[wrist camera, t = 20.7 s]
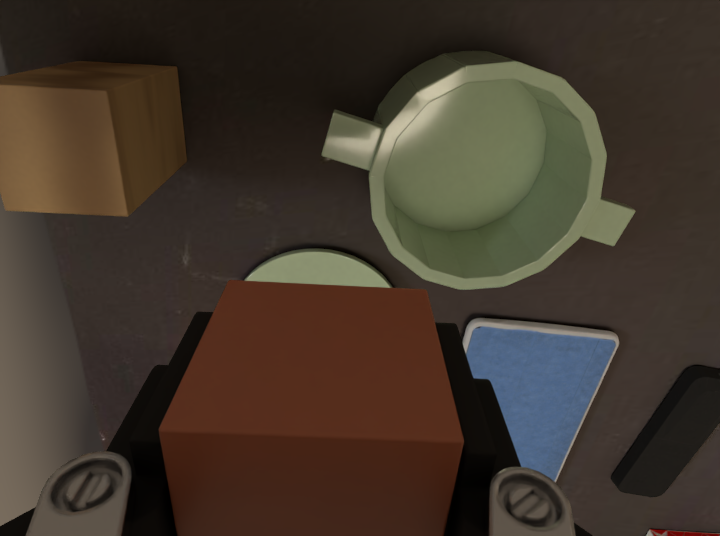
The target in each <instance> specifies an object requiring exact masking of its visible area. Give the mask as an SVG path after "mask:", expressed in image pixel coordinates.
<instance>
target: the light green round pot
mask: <svg viewBox="0 0 720 536" xmlns="http://www.w3.org/2000/svg"><path fill="white" fill-rule="evenodd" d="M321 156H323V157H326V158H330V159H333V160H336V161H339V162H342V163H346V164H349V165H352V166H355V167H359V168H362V169H365V170H368V179H369V191H370V202H371V213H372V219H373V222H374V224H375V225H376V227H377V229H378V231H379V233H380V235H381V236H382V238H383V240H384V242H385V244H386V246H387V247H388V249H389V251H390V253H391V254H392V255H393V256H394V257H395V258H396V259H398V260H399V261H400V262H402V263H403V264H404V265H405V266H407V267H408V268H409V269H411V270H412V271H413V272H414V273H416V274H417V275H418V276H420V277H421V278H423V279H424V280H427V281H431V282H434V283H438V284H442V285H445V286H449V287H452V288H456V289H459V290H469V289H482V288H495V287H503V286H507V285H509V284H512V283H514V282H516V281H519V280H521V279H523V278H526V277H528V276H531V275H533V274H535V273H538V272H540V271H542V270H543V269H545V268H546V267H547V266H549V265H550V264H551V263H552V262H553V261H554V260H555V259H557V258H558V257H559V256H560V255H561V254H562V253H563V252H565V251H566V250H567V249H568V248H569V247H570V246H571V245H573V244H574V243H575V242H576V241H577V240H578V239H579V237H580V236H581V237H584V238H588V239H591V240H594V241H597V242H601V243H604V244H607V245H610V246H615V244H616V242H617V241H618V239H619V237H620V236H621V234H622V233H623V231H624V229H625V228H626V226H627V224H628V223H629V221H630V220H631V218H632V216H633V215H634V213H635V210H634V209H633V208H631V207H630V206H628V205H626V204H623V203H620V202H617V201H614V200H611V199H608V198H605V197H602V196H601V192H602V186H603V179H604V172H605V166H606V159H607V153H606V150H605V146H604V142H603V139H602V135H601V132H600V128H599V125H598V121H597V118H596V114H595V112H594V110H593V109H592V108H591V107H590V106H589V105H588V104H587V103H586V102H585V101H584V100H583V99H582V97H581V96H580V95H579V94H578V93H577V92H576V91H575V90H574V89H573V88H572V87H571V86H570V85H569V83H568V82H567V81H566V80H565V79H563V78H562V77H560V76H557V75H554V74H551V73H549V72H546V71H543V70H540V69H538V68H535V67H532V66H529V65H527V64H524V63H521V62H518V61H515V60H512V59H509V58H506V57H503V56H500V55H497V54H494V53H491V52H488V51H484V50H478V51H459V52H453V53H445V54H443V55H442V54H441V55H439V56H437V57H435V58H432V59H430V60H428V61H426V62H424V63H422V64H420V65H419V66H417V67H415V68H414V69H412V70H411V71H409V72H408V73H406V75H405V74H404V76H403V77H402V78H401V79H400V80H399V81H398V82H397V83H396V84H395V85H394V86H393V87H392V88H391V89H390V91H389V92H388V93H387V95H386V96H385V98H384V99H383V100H382V102H381V103H380V104H379V106H378V108H377V111H376V114H375V116H374V119H373V121H369V120H366V119H363V118H360V117H357V116H354V115H351V114H348V113H345V112H342V111H339V110H334V111H333V114H332V118H331V121H330V125H329V128H328V132H327V135H326V139H325V142H324V146H323V149H322V153H321Z"/></svg>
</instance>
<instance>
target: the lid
mask: <svg viewBox="0 0 720 536" xmlns="http://www.w3.org/2000/svg"><path fill="white" fill-rule="evenodd" d="M244 281H261V282H282V283H302V284H323V285H343V286H364V287H385V288H393V287H392V286H391V284H390V283H389V282H388V280H387V279H386V278H385V277H384V276H383V275H382V274H381V273H380V272H379V271H378V270H376V269H375V268H374V267H372V266H371V265H369V264H368V263H366V262H365V261H363V260H361V259H359V258H357V257H355V256H352V255H349V254H346V253H343V252H339V251H335V250H330V249H320V248H313V249H300V250H293V251H290V252H286V253H282V254H280V255H277V256H275V257H273V258H271V259H269V260H267V261H265V262H264V263H262V264H260V265H259V266H258V267H257V268H255V269H254V270H253V271H252V272H251V273H250V274H249V275H248V276H247V277H246V278H245V279H244Z"/></svg>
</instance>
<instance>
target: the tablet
mask: <svg viewBox="0 0 720 536" xmlns="http://www.w3.org/2000/svg"><path fill="white" fill-rule="evenodd" d="M462 343H463V347H464V350H465V353H466V356H467V359H468V363H469V366H470V369H471V372H472V375H473V378H477V379H488V380H490V382H491V384H492V386H493V389H494V392H495V394H496V397H497V400H498V403H499V406H500V408H501V411H502V414H503V417H504V420H505V422H506V425H507V428H508V431H509V434H510V436H511V439H512V442H513V445H514V448H515V450H516V453H517V456H518V459H519V462H520V464H521V467H526V468H530V469H533V470H536V471H539V472H541V473H542V474H544V475H546V476H548V477H549V478H551V479H552V480H553V481H554V482H556V480H557V478H558V476H559V474H560V471H561V469H562V467H563V465H564V463H565V460H566V458H567V456H568V454H569V451H570V449H571V447H572V445H573V443H574V440H575V438H576V436H577V434H578V432H579V430H580V427H581V425H582V423H583V421H584V419H585V417H586V414H587V412H588V410H589V408H590V406H591V404H592V401H593V399H594V397H595V395H596V393H597V391H598V389H599V387H600V384H601V382H602V380H603V378H604V376H605V373H606V371H607V369H608V367H609V365H610V362H611V360H612V358H613V356H614V354H615V352H616V350H617V348H618V345H619V340H618V336H617V335H616V334H615V333H614V332H611V331H606V330H598V329H590V328H583V327H575V326H566V325H558V324H548V323H538V322H528V321H517V320H505V319H491V318H476V319H473V320H471V321H470V322H469V324H468V325H467V327H466V330H465V335H464V338H463V342H462Z"/></svg>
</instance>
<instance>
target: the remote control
mask: <svg viewBox="0 0 720 536" xmlns="http://www.w3.org/2000/svg"><path fill="white" fill-rule="evenodd" d="M719 423H720V370H717V369H712V368H708V367H703V366H693V367H691V368H688V369H687V370H686V371H685V372H684V373H683V374H682V376H681V377H680V379H679V380H678V382H677V383H676V384H675V386H674V387H673V389H672V390H671V392H670V393H669V395H668V396H667V397H666V399H665V400H664V402H663V403H662V405H661V406H660V407H659V409H658V410H657V412H656V413H655V415H654V416H653V417H652V419H651V420H650V422H649V423H648V425H647V426H646V428H645V429H644V430H643V432H642V433H641V435H640V436H639V438H638V439H637V440H636V442H635V443H634V445H633V446H632V448H631V449H630V450H629V452H628V453H627V455H626V456H625V458H624V459H623V461H622V462H621V463H620V465H619V466H618V468H617V469H616V471H615V472H614V473H613V475H612V477H611V479H612V481H613V483H614V484H615V485H616V486H617V488H618V489H619V490H620V491H621V492H624V493H630V494H636V495H642V496H648V497H657V496H660V495H662V494H663V493H665V491H666V490H667V489H668V488H669V486H670V485H671V484H672V482H673V481H674V480H675V479H676V477H677V476H678V475H679V474H680V472H681V471H682V470H683V468H684V467H685V466H686V465H687V463H688V462H689V461H690V460H691V458H692V457H693V456H694V454H695V453H696V452H697V451H698V449H699V448H700V447H701V446H702V444H703V443H704V442H705V440H706V439H707V438H708V437H709V435H710V434H711V433H712V432H713V430H714V429H715V428H716V427H717V425H718V424H719Z"/></svg>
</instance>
